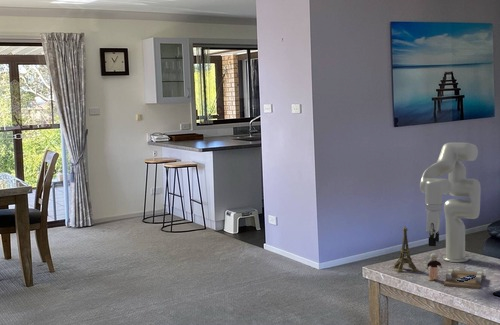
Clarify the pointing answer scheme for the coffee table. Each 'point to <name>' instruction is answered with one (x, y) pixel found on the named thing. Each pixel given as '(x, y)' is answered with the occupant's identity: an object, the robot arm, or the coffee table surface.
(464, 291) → the coffee table surface
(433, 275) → the grandmother figurine
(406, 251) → the eiffel tower
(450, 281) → the board
